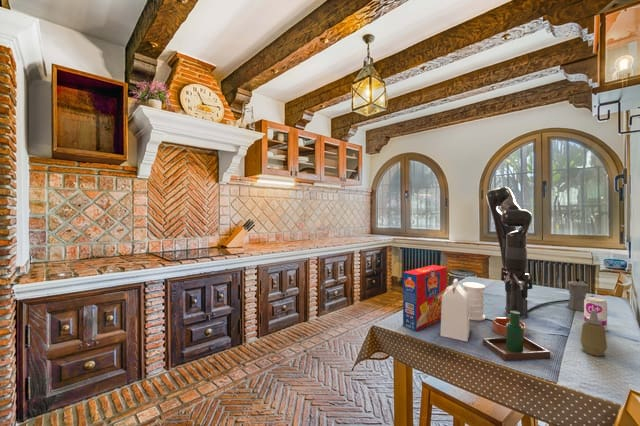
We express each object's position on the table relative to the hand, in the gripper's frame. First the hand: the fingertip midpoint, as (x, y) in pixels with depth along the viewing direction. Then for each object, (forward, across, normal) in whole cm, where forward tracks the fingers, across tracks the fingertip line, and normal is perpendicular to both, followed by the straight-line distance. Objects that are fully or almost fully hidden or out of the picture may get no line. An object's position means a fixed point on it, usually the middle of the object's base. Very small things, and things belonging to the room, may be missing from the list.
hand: (515, 295), depth 121 cm
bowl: (+24, +16, -10) cm, 30 cm away
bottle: (+23, 0, 0) cm, 23 cm away
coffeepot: (+25, +42, -75) cm, 89 cm away
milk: (+24, +18, +16) cm, 34 cm away
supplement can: (+25, +16, -56) cm, 63 cm away
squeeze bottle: (+24, -5, -31) cm, 39 cm away
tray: (+24, 0, 0) cm, 24 cm away
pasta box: (+24, +33, +24) cm, 48 cm away
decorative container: (+24, +36, -5) cm, 44 cm away
